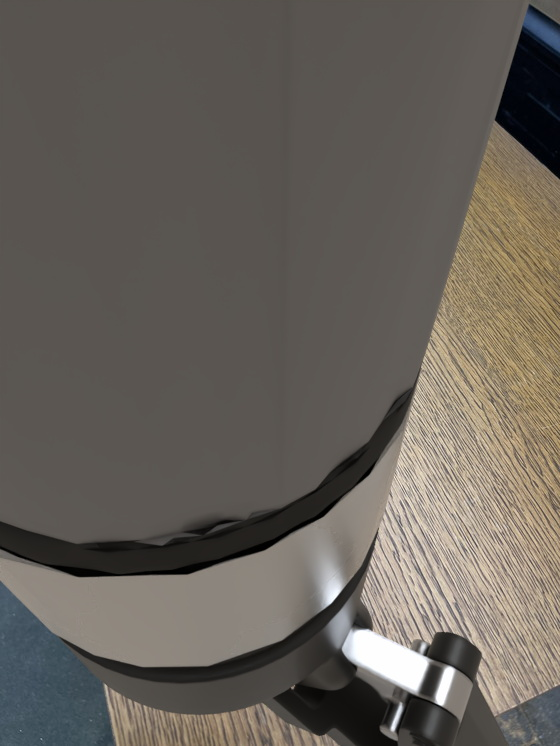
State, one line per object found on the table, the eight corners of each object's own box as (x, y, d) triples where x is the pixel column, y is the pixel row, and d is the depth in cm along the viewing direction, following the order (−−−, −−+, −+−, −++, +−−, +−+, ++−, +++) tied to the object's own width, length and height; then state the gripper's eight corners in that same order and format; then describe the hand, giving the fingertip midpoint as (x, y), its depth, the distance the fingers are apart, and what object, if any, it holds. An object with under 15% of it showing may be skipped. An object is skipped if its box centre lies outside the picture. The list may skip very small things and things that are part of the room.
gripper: (916, 599, 11) (538, 765, 28) (-103, 190, 19) (80, 516, 35) (957, 1194, 7) (487, 973, 24) (-367, 373, 15) (-19, 643, 31)
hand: (245, 701), depth 30 cm, fingers open, 13 cm apart
